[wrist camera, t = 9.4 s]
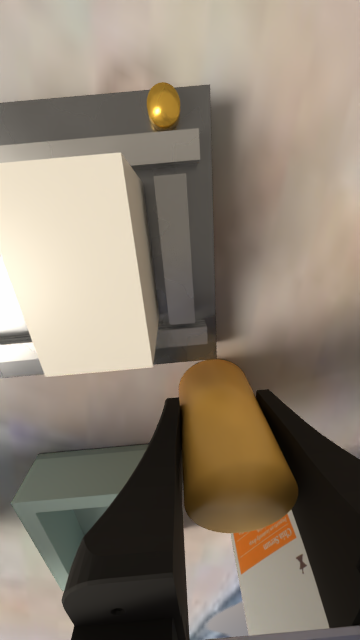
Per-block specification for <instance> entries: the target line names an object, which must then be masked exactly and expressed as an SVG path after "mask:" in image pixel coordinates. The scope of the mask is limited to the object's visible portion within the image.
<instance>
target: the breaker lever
mask: <svg viewBox="0 0 360 640" xmlns="http://www.w3.org/2000/svg"><path fill="white" fill-rule="evenodd" d="M0 255H1V258H2V261H3V263H4V266H5V269H6V271H7V274H8V277H9V279H10V282H11V285H12V288H13V290H14V293H15V296H16V298H17V301H18V304H19V307H20V309H21V312H22V315H23V317H24V320H25V323H26V326H27V328H28V331H29V334H30V336H31V339H32V342H33V345H34V347H35V350H36V353H37V355H38V358H39V361H40V364H41V366H42V369H43V372H44V374H45V377H51V376H62V375H73V374H84V373H95V372H107V371H118V370H129V369H140V368H151V367H153V363H154V355H155V347H156V339H157V331H158V322H159V307H158V299H157V291H156V283H155V275H154V267H153V259H152V251H151V243H150V235H149V227H148V219H147V211H146V203H145V195H144V187H143V183H142V181H141V180H140V178H139V177H138V176H137V174H136V173H135V171H134V170H133V169H132V167H131V166H130V164H129V163H128V162H127V160H126V159H125V158H124V156H123V155H122V153H121V152H120V153H108V154H97V155H85V156H74V157H63V158H51V159H40V160H28V161H17V162H6V163H0Z"/></svg>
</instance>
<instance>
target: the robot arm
mask: <svg viewBox="0 0 360 640" xmlns="http://www.w3.org/2000/svg"><path fill="white" fill-rule="evenodd" d="M256 399H257V401H258V404H259V406H260V408H261V410H262V412H263V414H264V416H265V418H266V420H267V422H268V424H269V426H270V428H271V431H272V433H273V435H274V437H275V439H276V441H277V443H278V445H279V447H280V449H281V451H282V453H283V455H284V457H285V460H286V462H287V464H288V466H289V468H290V470H291V472H292V474H293V476H294V478H295V480H296V483H297V485H298V497H297V501H296V503H295V505H294V506H293V507H292V509H291V510H292V513H293V516H294V518H295V521H296V524H297V527H298V530H299V533H300V536H301V539H302V542H303V545H304V548H305V551H306V554H307V557H308V560H309V563H310V566H311V569H312V572H313V575H314V579H315V582H316V585H317V588H318V592H319V595H320V598H321V601H322V605H323V608H324V611H325V614H326V618H327V621H328V625H329V628H327V629H316V630H305V631H294V632H283V633H272V634H261V635H250V636H240V637H229V638H218V639H207V640H360V459H358V458H356V457H355V456H353V455H351V454H350V453H348V452H347V451H345V450H344V449H342V448H341V447H339V446H338V445H336V444H335V443H333V442H332V441H330V440H329V439H327V438H326V437H325V436H323V435H322V434H320V433H319V432H318V431H317V430H315V429H314V428H313V427H311V426H310V425H309V424H307V423H306V422H305V421H304V420H303V419H301V418H300V417H299V416H298V415H297V414H295V413H294V412H293V411H292V410H291V409H290V408H289V407H287V406H286V405H285V404H284V403H283V402H282V401H281V400H280V399H279V398H277V397H276V396H275V395H274V394H273V393H272V392H271V391H270V390H269V389H267V390H257V393H256ZM182 483H183V465H182V444H181V415H180V401H179V397H178V398H167V399H166V400H165V405H164V409H163V412H162V415H161V418H160V420H159V423H158V425H157V428H156V430H155V433H154V435H153V437H152V439H151V441H150V443H149V445H148V447H147V449H146V451H145V453H144V455H143V457H142V458H141V460H140V462H139V464H138V465H137V467H136V469H135V470H134V472H133V473H132V475H131V476H130V478H129V479H128V481H127V482H126V484H125V485H124V487H123V488H122V490H121V491H120V492H119V494H118V495H117V496H116V498H115V499H114V500H113V502H112V503H111V504H110V506H109V507H108V508H107V510H106V511H105V512H104V513H103V514H102V516H101V517H100V518H99V519H98V520H97V521H96V523H95V524H94V525H93V526H92V527H91V529H90V530H89V531H88V532H87V533H86V534H85V535H84V537H83V539H82V541H81V543H80V545H79V548H78V550H77V553H76V555H75V558H74V560H73V563H72V566H71V569H70V572H69V576H68V579H67V583H66V586H65V590H64V594H63V597H62V604H63V607H64V609H65V611H66V613H67V614H68V616H69V617H70V619H71V621H72V622H73V624H74V630H73V634H72V638H71V640H189V623H188V605H187V588H186V569H185V550H184V531H183V511H182Z"/></svg>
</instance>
